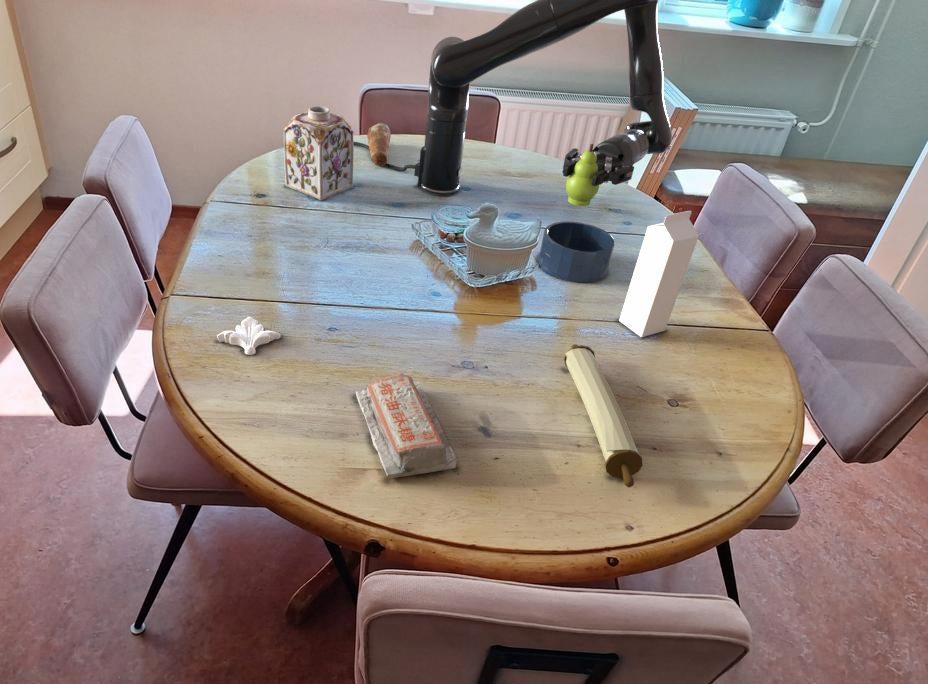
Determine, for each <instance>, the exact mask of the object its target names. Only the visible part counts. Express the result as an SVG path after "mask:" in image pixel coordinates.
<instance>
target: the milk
mask: <svg viewBox="0 0 928 684" xmlns="http://www.w3.org/2000/svg"><path fill="white" fill-rule="evenodd" d="M691 215H692V210H686V211H682V212H676V213H671V214H666V215H665V217H664V221H663V222H662V223H657V224H652V225H648V226H647V228H646V230H645V235H644V238H643V241H642V244H641V246H640V247H641V248H640V249H639V254H638V257H637V261H636V264H635V266H634V270H633V274H632V277H631V280H630V284H629V286H628V290H627V293H626V297H625V300H624V303H623V306H622V310H621V312H620V316H619V320H618V321H619V322H620V323H621V324H623V325H624V326H625V327H627V328H628V330H630V331H632V332H633V333H635V334H636V335H637V336H639V337H640V338H645V337H648V336H652V335H654V334H658V333H662V332H666V330H667V326H668V324H669V320H670V318H671V315H672V313H673V310H674V307H675V304H676V302H677V299H678V296H679V293H680V290H681V288H682V285H683V281H684V279H685V276H686V274H687V271H688V267H689V266H690V262H691V259H692V256H693V253H694V251H695V248H696V246H697V243H698V240H699V237H700V234H699V233H698V232H697V230H696V228H695V227H694V225H693V223H692V221H691V220H690V218H691Z"/></svg>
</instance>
